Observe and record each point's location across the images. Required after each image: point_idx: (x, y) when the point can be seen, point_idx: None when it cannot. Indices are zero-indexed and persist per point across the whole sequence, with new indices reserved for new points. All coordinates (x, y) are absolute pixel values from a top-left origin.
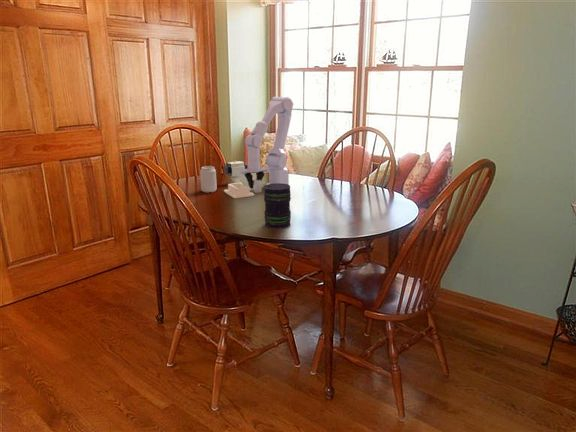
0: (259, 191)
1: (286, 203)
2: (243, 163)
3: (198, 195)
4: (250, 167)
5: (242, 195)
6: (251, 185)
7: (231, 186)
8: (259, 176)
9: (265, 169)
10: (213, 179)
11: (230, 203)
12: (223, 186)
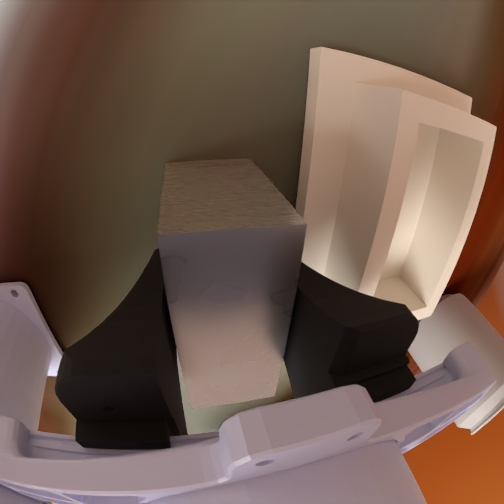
0: (190, 164)
1: None
2: None
3: (492, 260)
4: (416, 485)
5: (425, 77)
6: None
7: (461, 242)
8: (163, 349)
9: (29, 465)
10: (481, 344)
11: (496, 20)
12: None
